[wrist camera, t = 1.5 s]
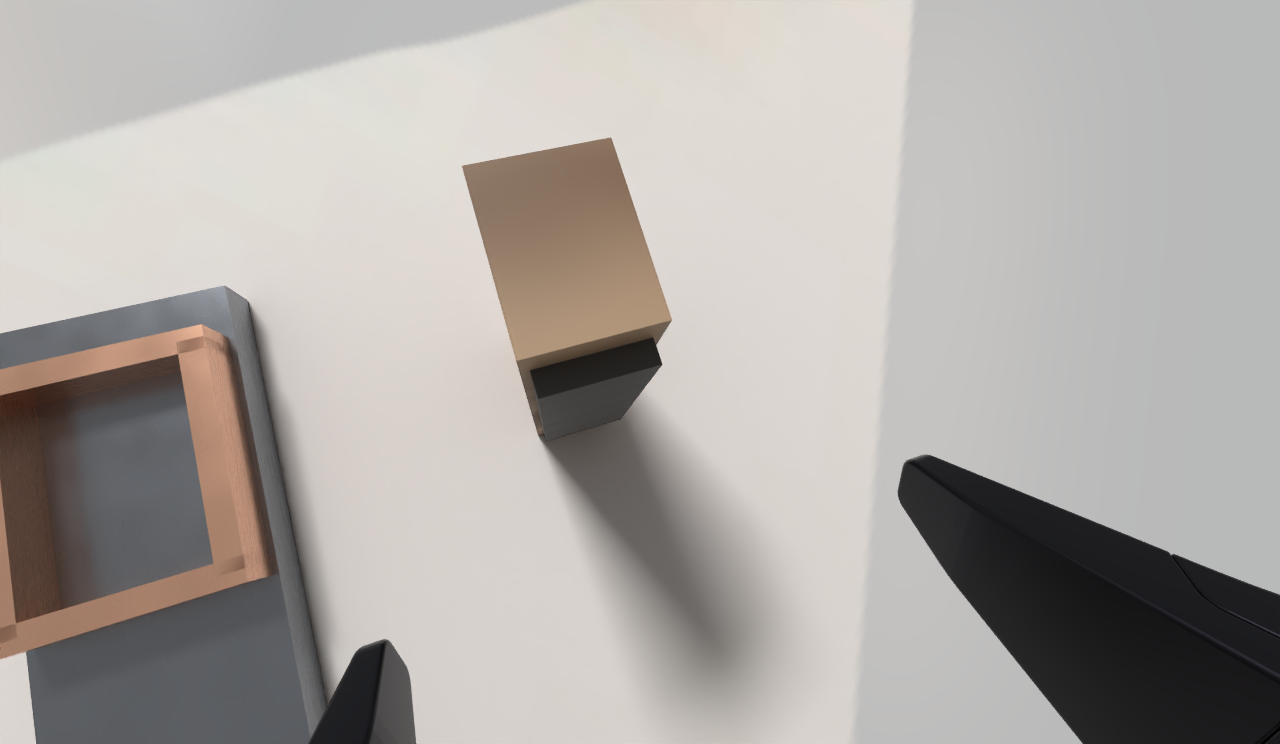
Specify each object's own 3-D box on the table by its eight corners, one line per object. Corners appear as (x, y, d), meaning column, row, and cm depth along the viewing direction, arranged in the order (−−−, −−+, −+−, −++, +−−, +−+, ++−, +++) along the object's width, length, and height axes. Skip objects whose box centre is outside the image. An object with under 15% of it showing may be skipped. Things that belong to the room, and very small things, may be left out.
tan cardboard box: (617, 428, 22) (681, 349, 11) (542, 450, 22) (524, 392, 10) (584, 320, 23) (611, 137, 11) (511, 338, 22) (461, 166, 11)
